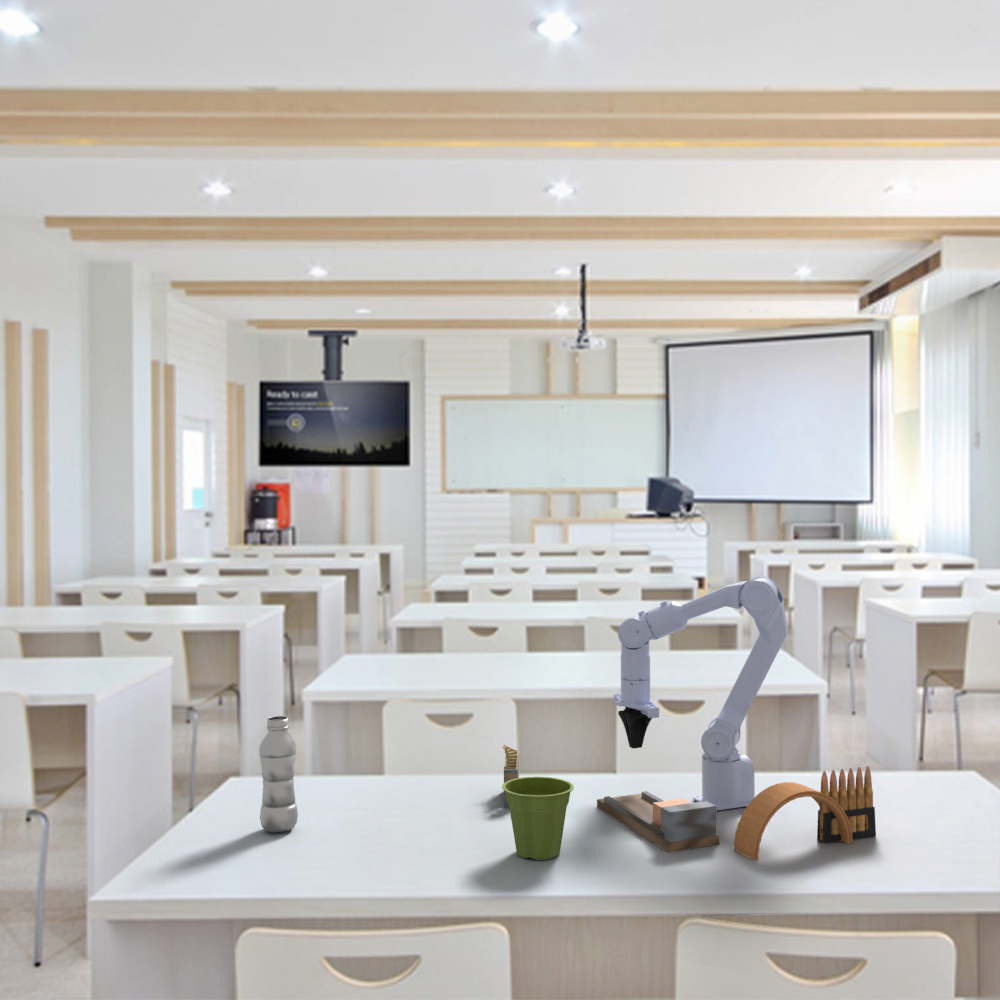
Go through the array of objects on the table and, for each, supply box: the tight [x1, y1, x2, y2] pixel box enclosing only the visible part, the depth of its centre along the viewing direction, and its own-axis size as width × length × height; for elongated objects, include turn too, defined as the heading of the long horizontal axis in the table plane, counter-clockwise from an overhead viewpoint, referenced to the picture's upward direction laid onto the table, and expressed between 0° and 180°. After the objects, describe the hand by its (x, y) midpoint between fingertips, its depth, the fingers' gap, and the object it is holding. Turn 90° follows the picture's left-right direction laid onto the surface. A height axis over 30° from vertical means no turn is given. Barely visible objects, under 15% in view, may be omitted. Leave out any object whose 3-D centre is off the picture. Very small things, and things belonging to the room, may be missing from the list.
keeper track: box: [596, 790, 721, 853], centre depth 184 cm, size 10×26×6 cm, turn 21°
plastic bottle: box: [258, 715, 299, 833], centre depth 182 cm, size 6×7×20 cm
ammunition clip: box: [816, 766, 877, 844], centre depth 176 cm, size 11×2×12 cm, turn 108°
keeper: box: [653, 798, 691, 827], centre depth 177 cm, size 6×5×4 cm
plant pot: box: [501, 776, 575, 861], centre depth 170 cm, size 12×12×11 cm
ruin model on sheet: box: [502, 744, 520, 809], centre depth 200 cm, size 11×3×10 cm, turn 178°
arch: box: [733, 781, 854, 861], centre depth 172 cm, size 6×20×10 cm, turn 111°
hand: (635, 747), depth 201 cm, fingers closed
